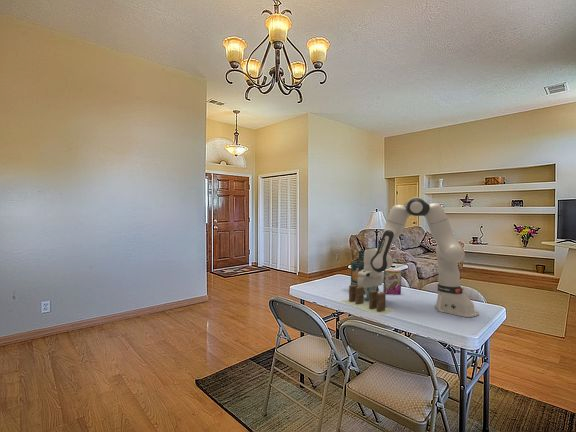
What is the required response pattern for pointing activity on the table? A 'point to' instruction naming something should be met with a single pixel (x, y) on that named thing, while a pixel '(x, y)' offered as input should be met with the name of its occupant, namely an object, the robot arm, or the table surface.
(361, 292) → the tile
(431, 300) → the table surface
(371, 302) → the tile
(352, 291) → the tile
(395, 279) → the candy bar box
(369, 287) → the teal tile
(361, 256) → the donation box
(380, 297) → the tile
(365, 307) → the felt mat
